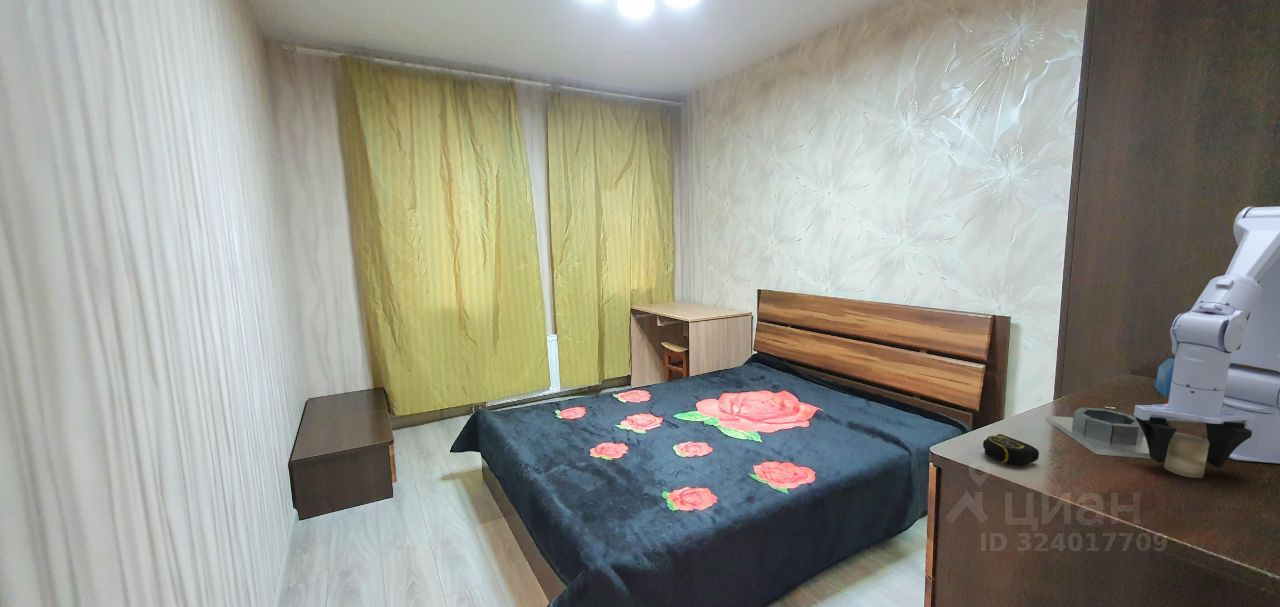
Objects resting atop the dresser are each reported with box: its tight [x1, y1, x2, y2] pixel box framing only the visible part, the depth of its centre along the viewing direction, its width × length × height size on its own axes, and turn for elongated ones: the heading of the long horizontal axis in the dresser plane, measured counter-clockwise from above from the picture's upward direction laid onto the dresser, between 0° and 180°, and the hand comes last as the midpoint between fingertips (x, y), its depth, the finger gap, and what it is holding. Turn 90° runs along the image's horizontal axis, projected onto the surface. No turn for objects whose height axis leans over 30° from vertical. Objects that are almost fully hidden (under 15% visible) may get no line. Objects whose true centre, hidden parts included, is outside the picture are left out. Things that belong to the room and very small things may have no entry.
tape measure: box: [982, 433, 1040, 467], centre depth 84 cm, size 7×7×4 cm
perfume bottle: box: [1154, 354, 1176, 396], centre depth 112 cm, size 6×6×12 cm
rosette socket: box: [1045, 407, 1153, 460], centre depth 91 cm, size 12×16×4 cm
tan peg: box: [1163, 431, 1209, 479], centre depth 79 cm, size 4×4×6 cm
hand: (1184, 462), depth 79 cm, fingers open, 7 cm apart
